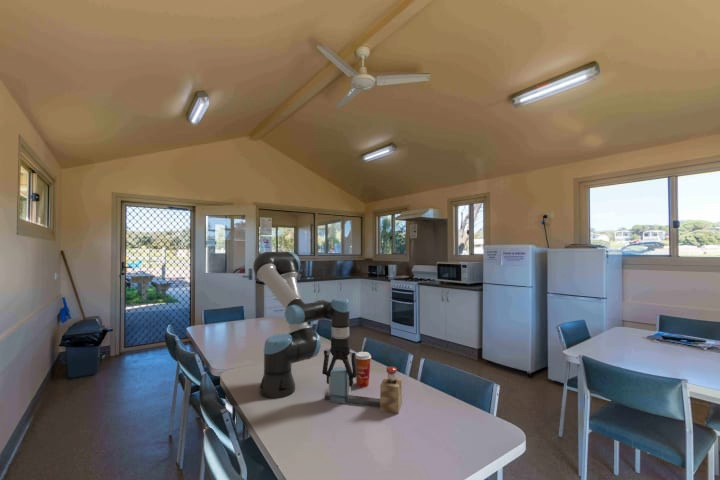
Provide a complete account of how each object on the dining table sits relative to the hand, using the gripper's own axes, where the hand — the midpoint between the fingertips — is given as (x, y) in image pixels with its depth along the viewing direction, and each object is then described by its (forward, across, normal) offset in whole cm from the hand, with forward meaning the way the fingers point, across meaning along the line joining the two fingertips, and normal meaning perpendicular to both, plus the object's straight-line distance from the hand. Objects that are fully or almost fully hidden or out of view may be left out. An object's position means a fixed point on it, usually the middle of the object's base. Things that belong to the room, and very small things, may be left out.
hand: (339, 392), depth 139 cm
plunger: (-6, +22, 0) cm, 22 cm away
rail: (+3, +6, 0) cm, 7 cm away
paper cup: (+3, +5, +18) cm, 19 cm away
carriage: (+3, 0, 0) cm, 3 cm away
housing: (+3, +22, 0) cm, 22 cm away
